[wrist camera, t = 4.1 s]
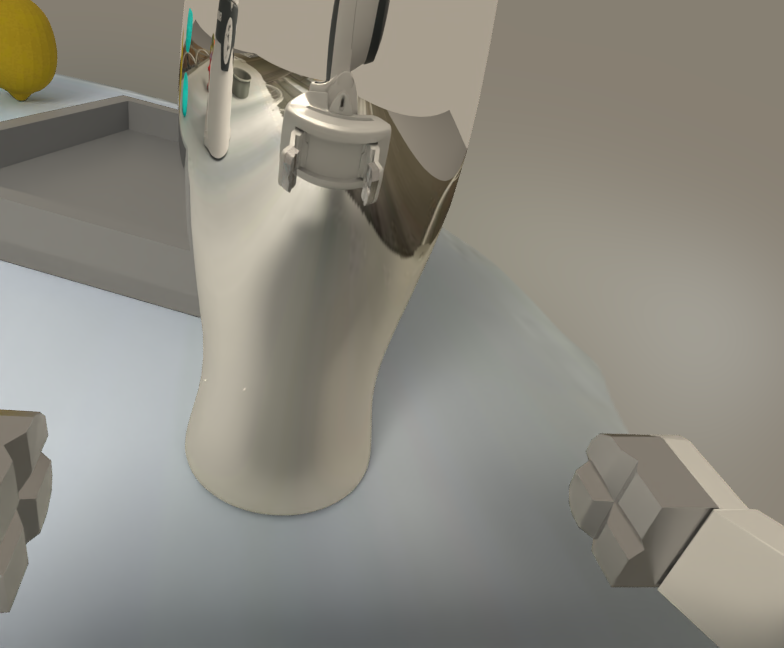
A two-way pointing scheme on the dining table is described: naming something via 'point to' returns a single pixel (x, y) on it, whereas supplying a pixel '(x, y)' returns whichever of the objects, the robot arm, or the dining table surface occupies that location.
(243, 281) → the beer glass
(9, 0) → the lemon
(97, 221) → the tray
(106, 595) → the dining table surface
